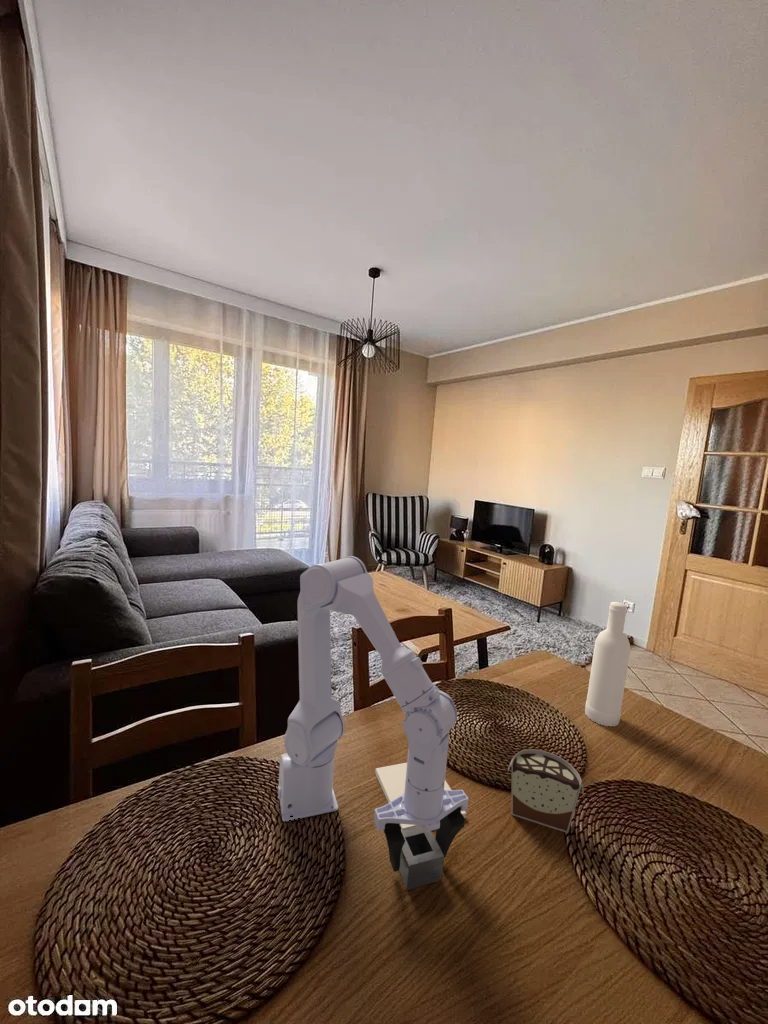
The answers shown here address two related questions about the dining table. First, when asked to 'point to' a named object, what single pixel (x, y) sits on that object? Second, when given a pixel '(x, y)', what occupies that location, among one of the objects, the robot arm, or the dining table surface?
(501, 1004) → the dining table surface
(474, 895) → the dining table surface
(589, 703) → the bottle
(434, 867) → the collar
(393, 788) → the shaft board
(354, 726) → the dining table surface
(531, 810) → the food container
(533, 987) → the dining table surface
